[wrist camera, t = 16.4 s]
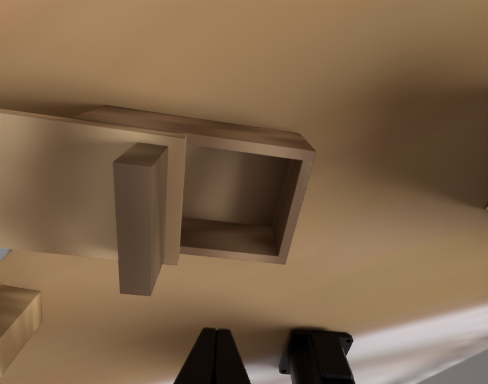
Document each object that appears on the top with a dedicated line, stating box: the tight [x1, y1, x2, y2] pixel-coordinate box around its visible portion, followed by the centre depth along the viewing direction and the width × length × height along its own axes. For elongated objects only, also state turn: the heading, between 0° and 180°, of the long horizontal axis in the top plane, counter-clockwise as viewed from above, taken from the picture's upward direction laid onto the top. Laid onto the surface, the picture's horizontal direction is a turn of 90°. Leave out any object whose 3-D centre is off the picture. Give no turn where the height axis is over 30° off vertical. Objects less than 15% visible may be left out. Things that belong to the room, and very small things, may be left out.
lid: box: [0, 109, 187, 296], centre depth 13 cm, size 13×8×4 cm, turn 81°
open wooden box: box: [71, 105, 316, 264], centre depth 18 cm, size 13×8×4 cm, turn 81°
